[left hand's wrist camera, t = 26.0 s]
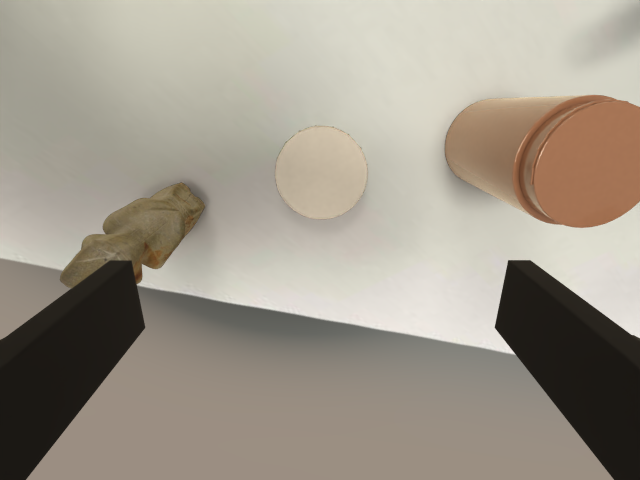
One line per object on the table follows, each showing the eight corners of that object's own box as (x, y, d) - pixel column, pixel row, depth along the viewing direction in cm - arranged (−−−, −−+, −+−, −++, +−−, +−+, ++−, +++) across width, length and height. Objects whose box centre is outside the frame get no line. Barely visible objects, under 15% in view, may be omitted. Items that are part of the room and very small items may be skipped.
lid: (258, 175, 38) (255, 179, 36) (316, 104, 35) (316, 104, 33) (324, 230, 40) (325, 237, 38) (384, 167, 37) (387, 170, 35)
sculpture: (135, 209, 39) (29, 269, 25) (182, 167, 37) (98, 205, 23) (175, 248, 40) (97, 326, 26) (221, 210, 39) (165, 270, 25)
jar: (531, 92, 35) (685, 84, 20) (525, 178, 38) (655, 225, 23) (444, 104, 35) (533, 104, 20) (444, 188, 38) (522, 241, 23)
